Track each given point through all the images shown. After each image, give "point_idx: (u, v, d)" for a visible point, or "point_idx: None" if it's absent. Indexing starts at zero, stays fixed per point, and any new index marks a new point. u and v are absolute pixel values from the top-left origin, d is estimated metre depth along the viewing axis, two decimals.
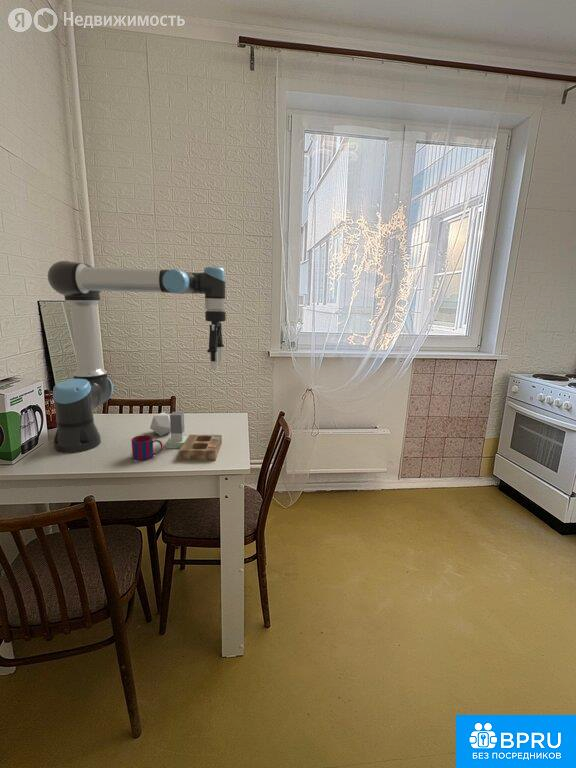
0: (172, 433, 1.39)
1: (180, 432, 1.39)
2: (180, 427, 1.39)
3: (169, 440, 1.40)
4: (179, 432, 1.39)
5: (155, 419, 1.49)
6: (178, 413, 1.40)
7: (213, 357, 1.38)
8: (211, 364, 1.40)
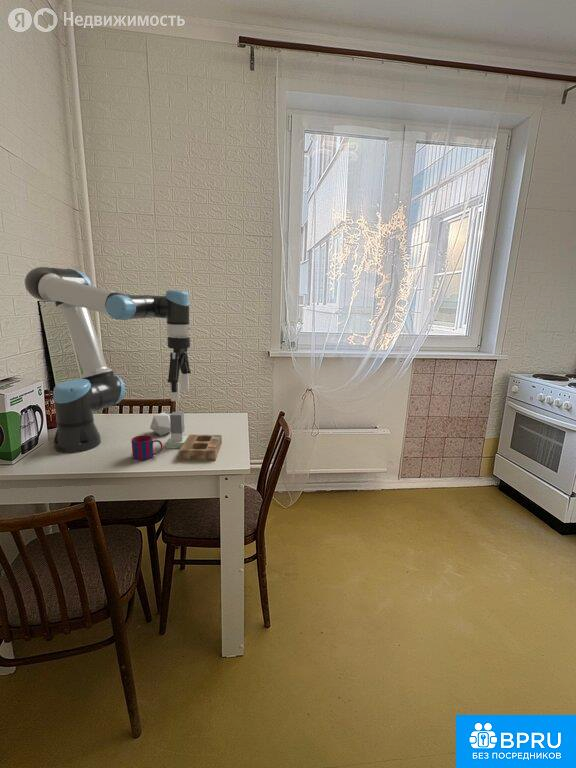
0: (172, 433, 1.39)
1: (180, 432, 1.39)
2: (180, 427, 1.39)
3: (169, 440, 1.40)
4: (179, 432, 1.39)
5: (155, 419, 1.49)
6: (178, 413, 1.40)
7: (174, 388, 1.27)
8: (172, 395, 1.29)
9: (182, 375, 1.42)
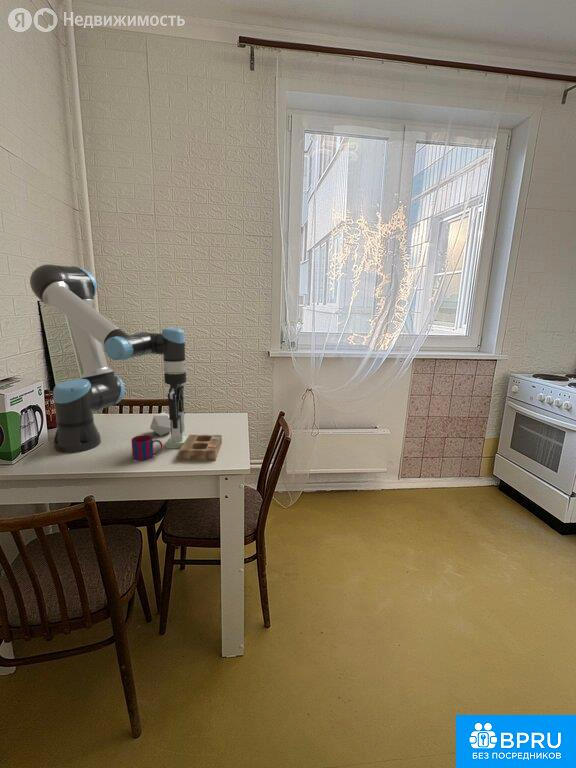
0: None
1: (180, 432, 1.39)
2: (180, 427, 1.39)
3: (169, 440, 1.40)
4: None
5: (155, 419, 1.49)
6: None
7: (175, 425, 1.36)
8: (173, 431, 1.38)
9: None
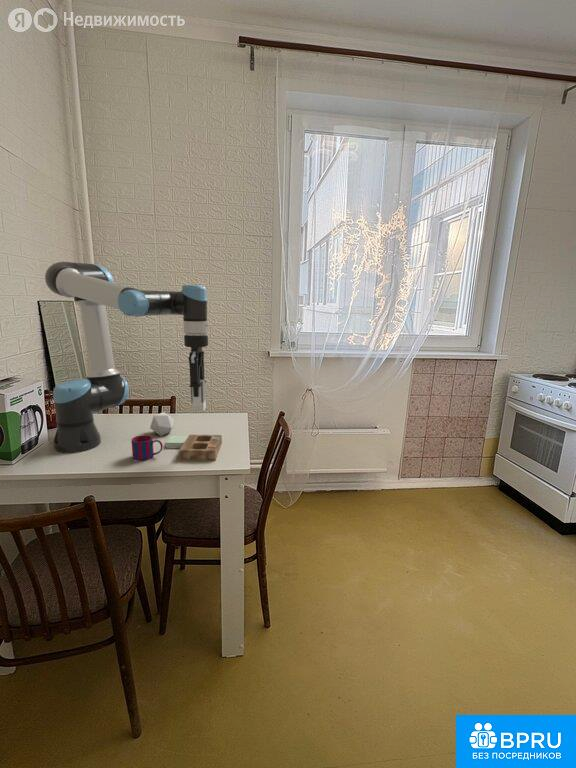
0: None
1: (201, 401, 1.26)
2: (201, 395, 1.26)
3: (169, 440, 1.40)
4: None
5: (155, 419, 1.49)
6: None
7: (196, 392, 1.24)
8: (194, 400, 1.25)
9: None
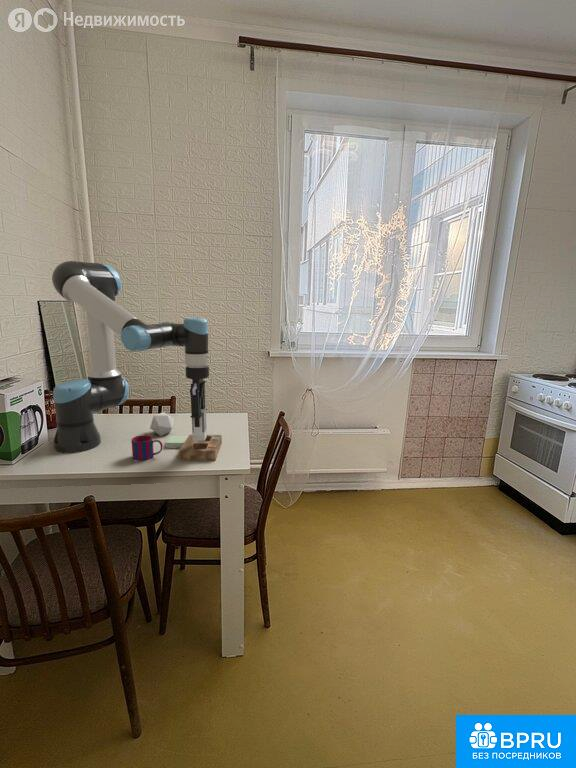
0: None
1: (202, 431, 1.29)
2: (202, 425, 1.28)
3: (169, 440, 1.40)
4: None
5: (155, 419, 1.49)
6: None
7: (197, 423, 1.26)
8: (195, 430, 1.28)
9: None
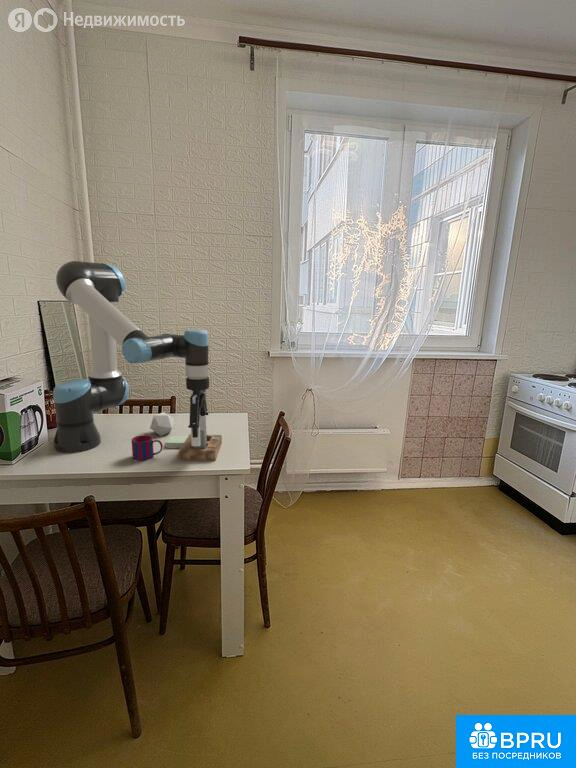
0: None
1: (203, 448, 1.30)
2: (203, 443, 1.30)
3: (169, 440, 1.40)
4: (202, 448, 1.30)
5: (155, 419, 1.49)
6: (200, 428, 1.30)
7: (195, 433, 1.23)
8: (193, 440, 1.25)
9: (200, 417, 1.35)
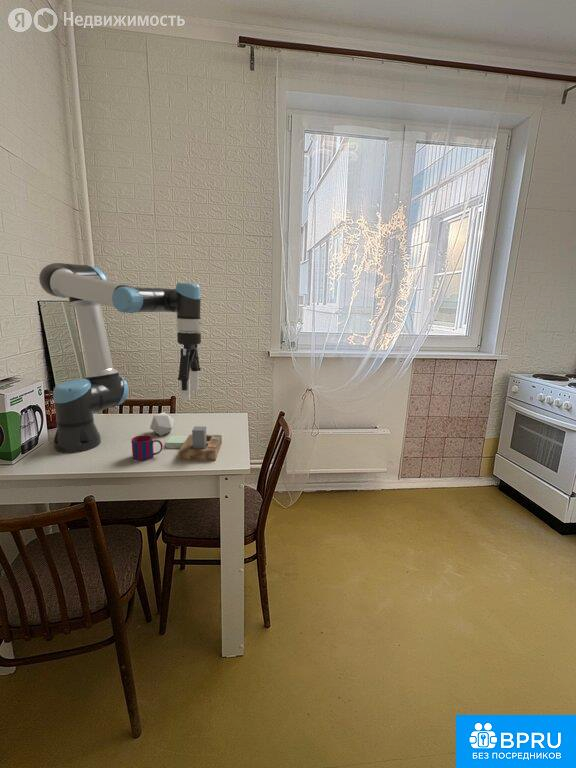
0: None
1: (203, 448, 1.30)
2: (203, 443, 1.30)
3: (169, 440, 1.40)
4: (202, 448, 1.30)
5: (155, 419, 1.49)
6: (200, 428, 1.30)
7: (184, 386, 1.21)
8: (182, 394, 1.23)
9: (192, 372, 1.35)
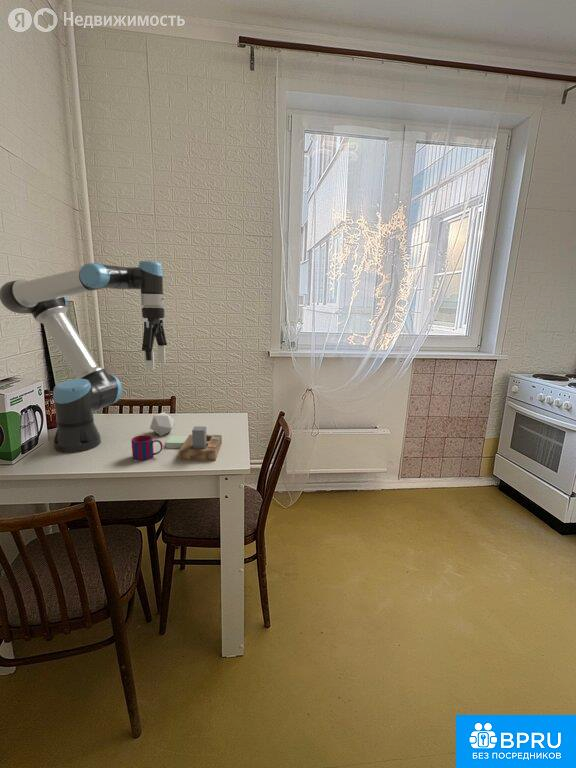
0: None
1: (203, 448, 1.30)
2: (203, 443, 1.30)
3: (169, 440, 1.40)
4: (202, 448, 1.30)
5: (155, 419, 1.49)
6: (200, 428, 1.30)
7: (148, 356, 1.31)
8: (147, 364, 1.32)
9: (158, 347, 1.45)
